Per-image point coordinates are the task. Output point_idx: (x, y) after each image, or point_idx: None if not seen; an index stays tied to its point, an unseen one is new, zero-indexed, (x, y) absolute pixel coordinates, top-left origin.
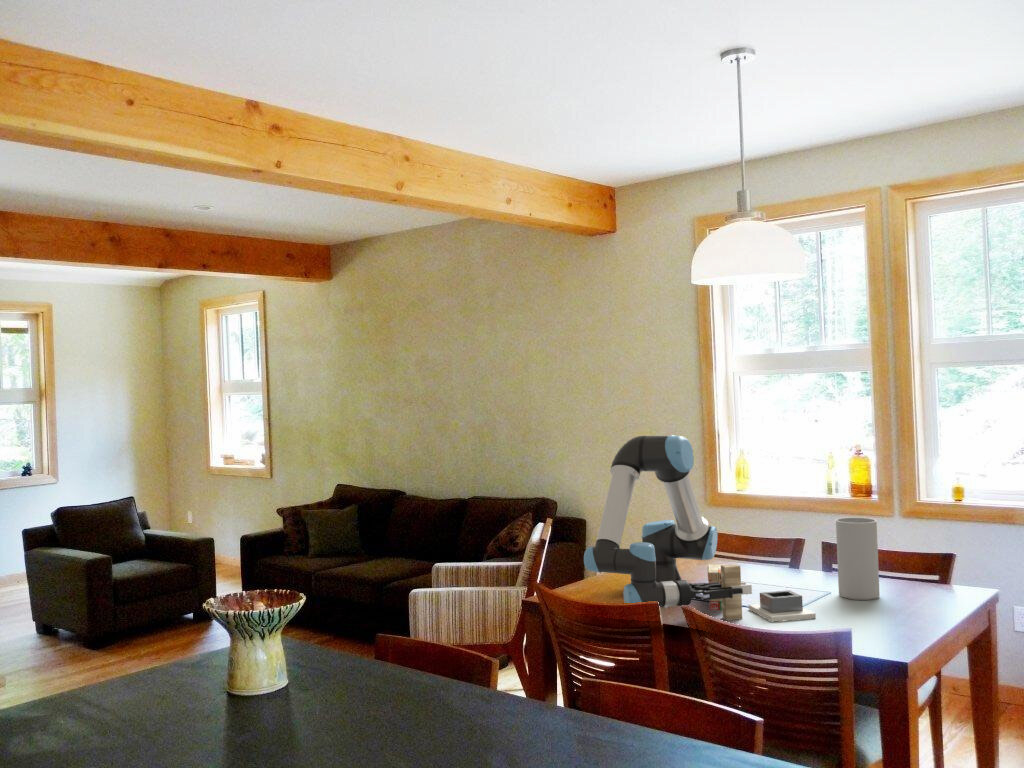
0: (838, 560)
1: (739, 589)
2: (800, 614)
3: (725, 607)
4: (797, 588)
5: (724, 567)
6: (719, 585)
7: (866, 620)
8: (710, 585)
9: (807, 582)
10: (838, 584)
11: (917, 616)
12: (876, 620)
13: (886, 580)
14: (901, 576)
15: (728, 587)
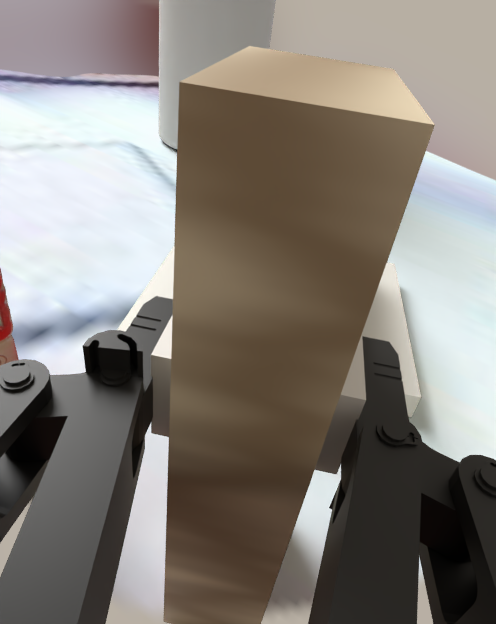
0: (190, 37)
1: (399, 373)
2: (398, 297)
3: (248, 590)
4: (28, 148)
5: (412, 138)
6: (129, 437)
7: (442, 228)
8: (74, 612)
9: (6, 120)
10: (175, 118)
11: (423, 176)
12: (446, 219)
13: (135, 92)
14: (131, 81)
15: (379, 445)
